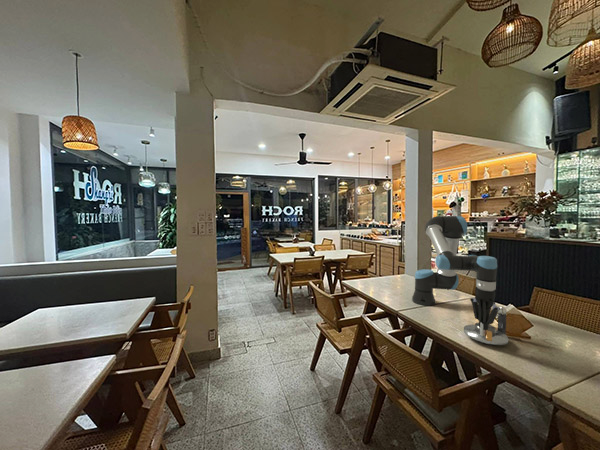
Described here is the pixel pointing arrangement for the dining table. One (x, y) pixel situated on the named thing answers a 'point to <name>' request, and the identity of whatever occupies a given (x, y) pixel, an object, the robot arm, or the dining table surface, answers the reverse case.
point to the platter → (495, 340)
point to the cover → (490, 328)
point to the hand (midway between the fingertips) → (482, 335)
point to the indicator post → (502, 320)
